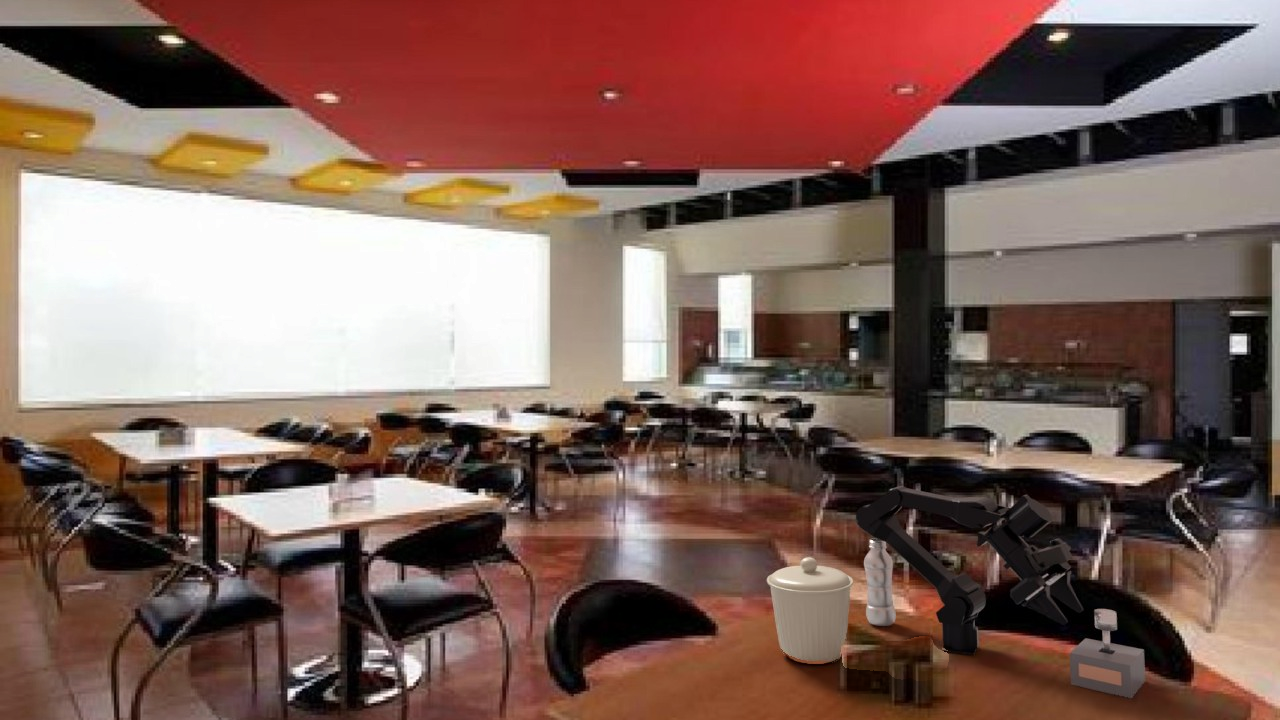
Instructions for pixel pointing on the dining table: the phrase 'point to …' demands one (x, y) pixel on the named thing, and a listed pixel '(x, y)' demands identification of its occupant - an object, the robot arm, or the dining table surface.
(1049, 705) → the dining table surface
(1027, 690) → the dining table surface
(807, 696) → the dining table surface
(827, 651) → the canister
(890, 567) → the plastic bottle
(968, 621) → the robot arm
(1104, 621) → the pump plunger
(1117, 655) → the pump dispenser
